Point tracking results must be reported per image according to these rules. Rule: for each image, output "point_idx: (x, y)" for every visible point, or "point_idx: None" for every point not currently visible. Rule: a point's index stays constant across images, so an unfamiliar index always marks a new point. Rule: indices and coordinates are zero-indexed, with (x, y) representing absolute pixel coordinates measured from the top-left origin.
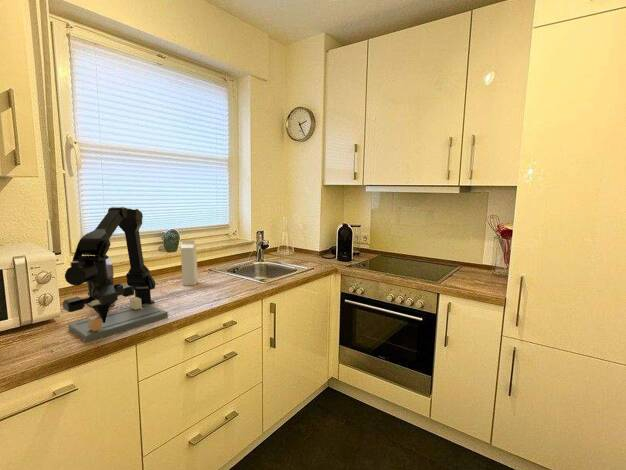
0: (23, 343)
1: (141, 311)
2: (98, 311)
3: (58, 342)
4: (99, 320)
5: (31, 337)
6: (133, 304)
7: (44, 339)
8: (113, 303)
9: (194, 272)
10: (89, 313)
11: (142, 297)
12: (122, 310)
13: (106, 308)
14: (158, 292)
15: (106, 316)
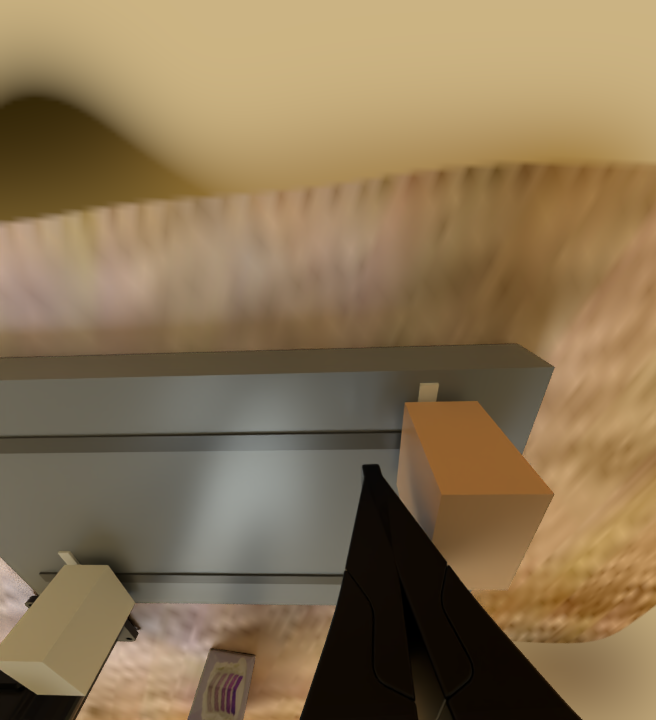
0: (653, 555)
1: (72, 524)
2: (519, 651)
3: (587, 466)
4: (458, 474)
5: (586, 585)
6: (89, 618)
7: (583, 539)
8: (209, 665)
9: None
10: (313, 641)
11: None
12: (185, 594)
13: (371, 681)
14: None
15: (356, 516)
